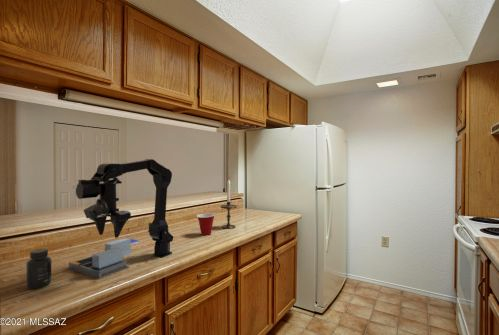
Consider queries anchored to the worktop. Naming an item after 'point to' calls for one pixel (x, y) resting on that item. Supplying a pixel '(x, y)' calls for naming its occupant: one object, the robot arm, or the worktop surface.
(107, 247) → the pale grey block
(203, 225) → the plastic cup
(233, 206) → the candlestick
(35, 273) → the supplement bottle
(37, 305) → the worktop surface
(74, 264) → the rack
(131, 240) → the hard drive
